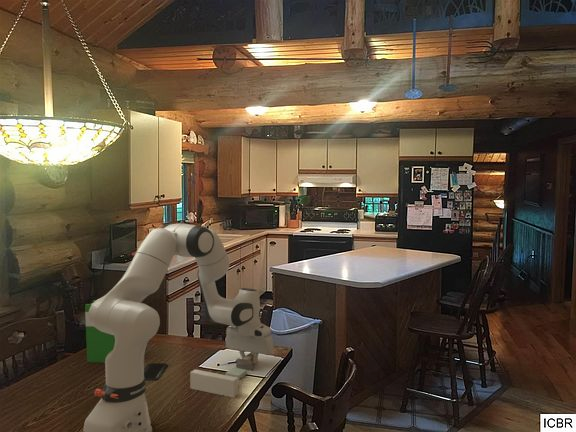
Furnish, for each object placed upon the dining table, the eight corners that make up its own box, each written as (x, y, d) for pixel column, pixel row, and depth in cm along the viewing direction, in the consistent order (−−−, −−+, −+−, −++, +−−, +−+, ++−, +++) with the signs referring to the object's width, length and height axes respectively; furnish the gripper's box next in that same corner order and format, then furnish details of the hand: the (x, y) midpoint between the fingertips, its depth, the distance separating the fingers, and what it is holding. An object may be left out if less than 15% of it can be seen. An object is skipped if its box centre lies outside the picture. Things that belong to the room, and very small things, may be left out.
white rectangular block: (233, 397, 168) (233, 380, 167) (190, 388, 175) (190, 372, 174) (246, 387, 176) (246, 371, 175) (204, 379, 183) (204, 363, 183)
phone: (168, 363, 197) (157, 378, 182) (168, 366, 197) (157, 381, 182) (148, 363, 197) (136, 378, 182) (148, 365, 197) (136, 381, 182)
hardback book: (87, 361, 201) (85, 304, 199) (95, 355, 208) (93, 300, 206) (128, 363, 199) (126, 305, 197) (135, 356, 206) (134, 301, 204)
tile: (238, 380, 183) (238, 375, 183) (225, 377, 185) (225, 372, 185) (247, 374, 188) (247, 369, 188) (233, 372, 191) (233, 367, 191)
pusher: (251, 370, 191) (251, 360, 190) (236, 367, 194) (236, 358, 193) (262, 362, 199) (262, 353, 199) (247, 360, 202) (247, 350, 202)
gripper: (222, 326, 196) (222, 360, 197) (267, 333, 188) (267, 368, 189) (230, 322, 202) (230, 355, 203) (274, 329, 193) (275, 363, 195)
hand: (249, 361), depth 196 cm, fingers closed on pusher, 3 cm apart
